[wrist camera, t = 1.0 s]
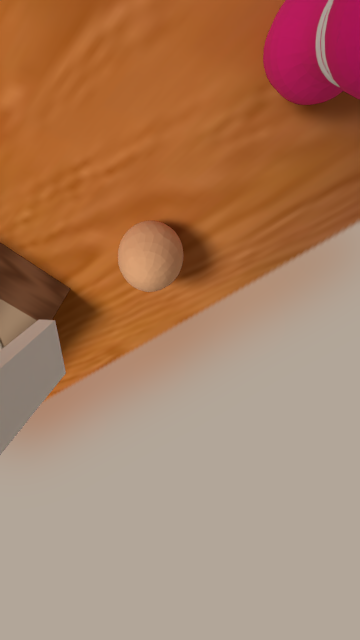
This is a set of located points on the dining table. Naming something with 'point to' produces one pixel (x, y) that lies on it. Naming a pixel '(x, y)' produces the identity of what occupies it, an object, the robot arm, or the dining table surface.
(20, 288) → the walnut riser
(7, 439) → the robot arm
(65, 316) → the dining table surface
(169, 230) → the egg
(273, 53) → the pepper mill
